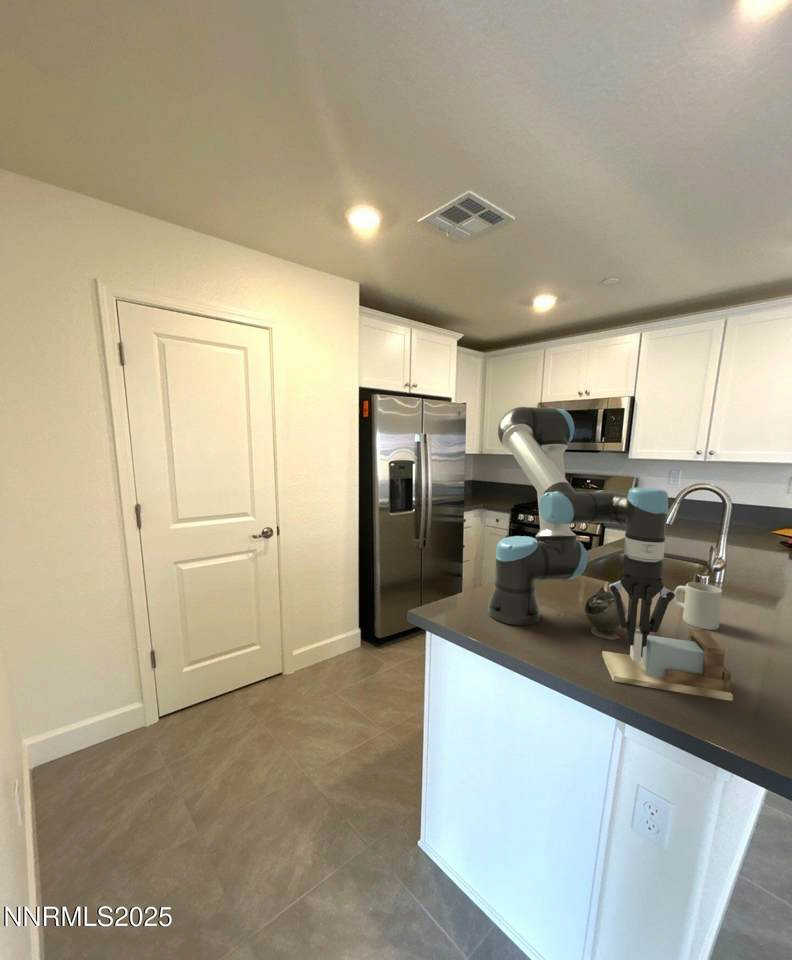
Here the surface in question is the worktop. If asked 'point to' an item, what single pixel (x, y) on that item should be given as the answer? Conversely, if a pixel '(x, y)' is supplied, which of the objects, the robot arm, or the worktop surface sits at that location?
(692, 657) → the pale blue tall block
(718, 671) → the rail board
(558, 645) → the worktop surface
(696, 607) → the mug
